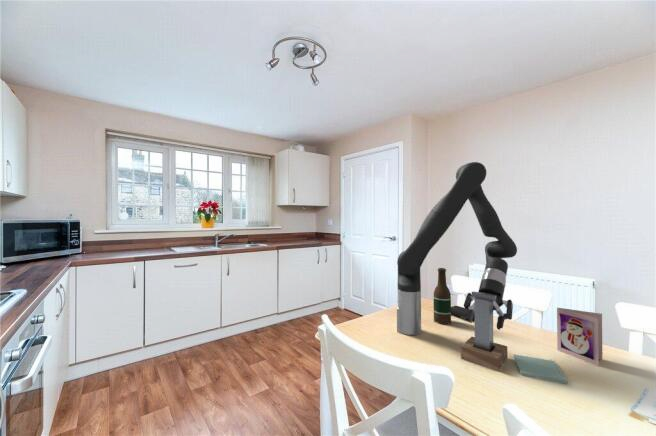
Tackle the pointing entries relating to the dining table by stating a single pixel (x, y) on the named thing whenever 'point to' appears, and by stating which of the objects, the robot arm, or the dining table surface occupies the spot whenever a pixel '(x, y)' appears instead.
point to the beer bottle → (442, 299)
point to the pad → (539, 368)
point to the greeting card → (580, 334)
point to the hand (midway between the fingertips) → (483, 324)
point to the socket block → (484, 355)
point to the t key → (483, 320)
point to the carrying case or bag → (460, 312)
